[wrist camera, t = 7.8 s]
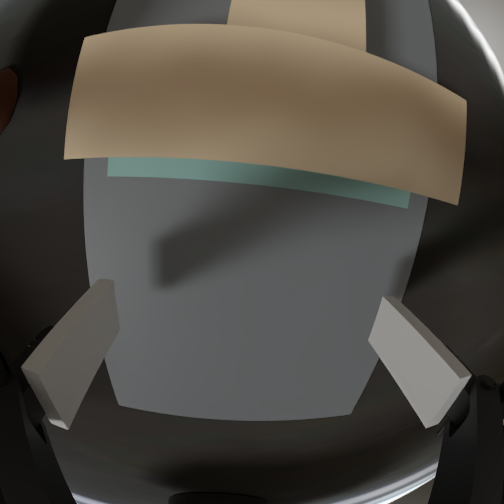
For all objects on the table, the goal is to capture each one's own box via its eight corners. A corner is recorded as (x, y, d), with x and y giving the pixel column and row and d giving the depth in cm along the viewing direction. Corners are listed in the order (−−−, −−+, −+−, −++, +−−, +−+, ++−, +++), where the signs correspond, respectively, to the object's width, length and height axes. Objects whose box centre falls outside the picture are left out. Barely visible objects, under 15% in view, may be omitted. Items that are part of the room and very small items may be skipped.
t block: (410, 191, 13) (457, 205, 9) (107, 156, 12) (64, 159, 8) (409, -14, 8) (441, -35, 5) (162, -57, 7) (150, -92, 3)
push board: (348, 410, 19) (350, 414, 19) (120, 401, 18) (118, 405, 17) (422, -10, 9) (425, -12, 8) (146, -58, 7) (145, -61, 6)
